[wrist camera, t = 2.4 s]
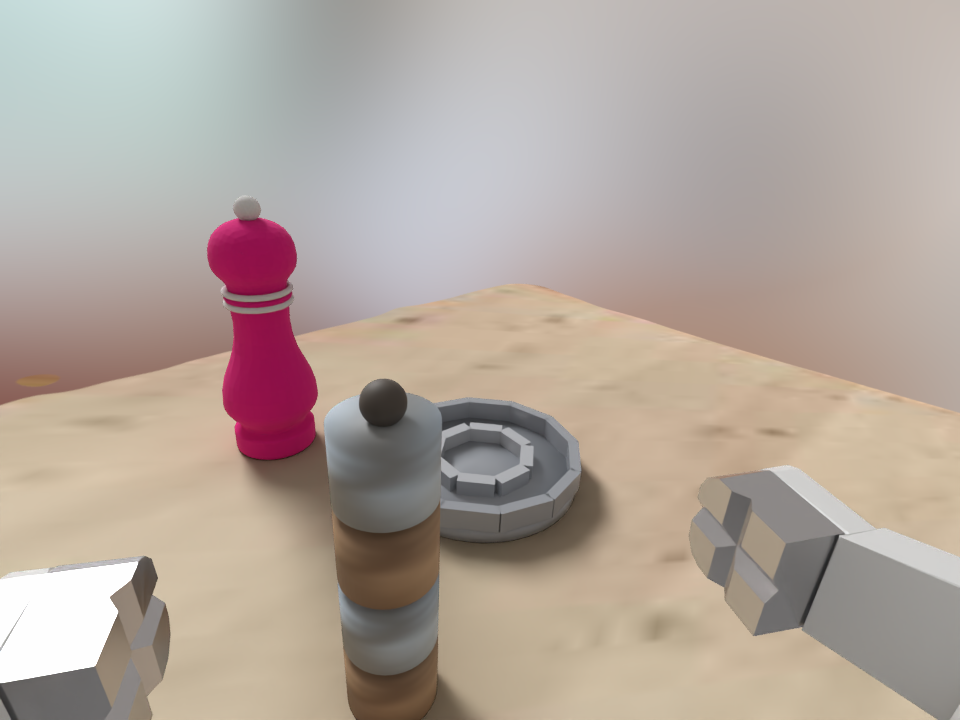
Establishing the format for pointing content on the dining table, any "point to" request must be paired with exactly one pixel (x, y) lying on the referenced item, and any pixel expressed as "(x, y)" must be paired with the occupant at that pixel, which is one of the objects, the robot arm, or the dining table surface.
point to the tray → (503, 470)
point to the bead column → (387, 547)
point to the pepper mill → (262, 336)
